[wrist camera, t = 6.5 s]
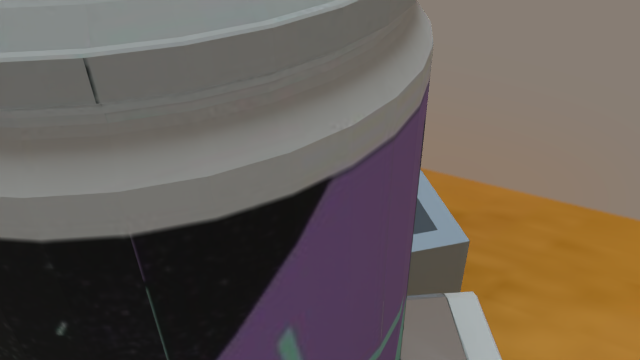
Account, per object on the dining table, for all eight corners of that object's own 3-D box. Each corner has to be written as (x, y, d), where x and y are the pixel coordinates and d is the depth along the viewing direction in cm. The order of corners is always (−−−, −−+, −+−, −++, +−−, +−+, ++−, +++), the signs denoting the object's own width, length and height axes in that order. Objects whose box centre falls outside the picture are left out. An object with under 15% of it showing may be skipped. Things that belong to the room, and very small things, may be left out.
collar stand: (217, 422, 20) (190, 311, 16) (199, 240, 28) (178, 139, 24) (472, 362, 22) (498, 251, 18) (387, 207, 30) (394, 108, 26)
